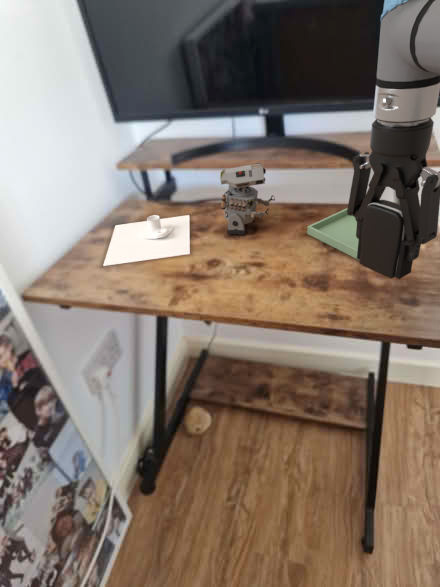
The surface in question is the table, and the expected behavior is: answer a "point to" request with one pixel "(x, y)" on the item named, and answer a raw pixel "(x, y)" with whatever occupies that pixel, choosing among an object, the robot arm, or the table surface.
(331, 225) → the tray
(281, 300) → the table surface
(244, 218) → the figurine
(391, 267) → the battery charger
